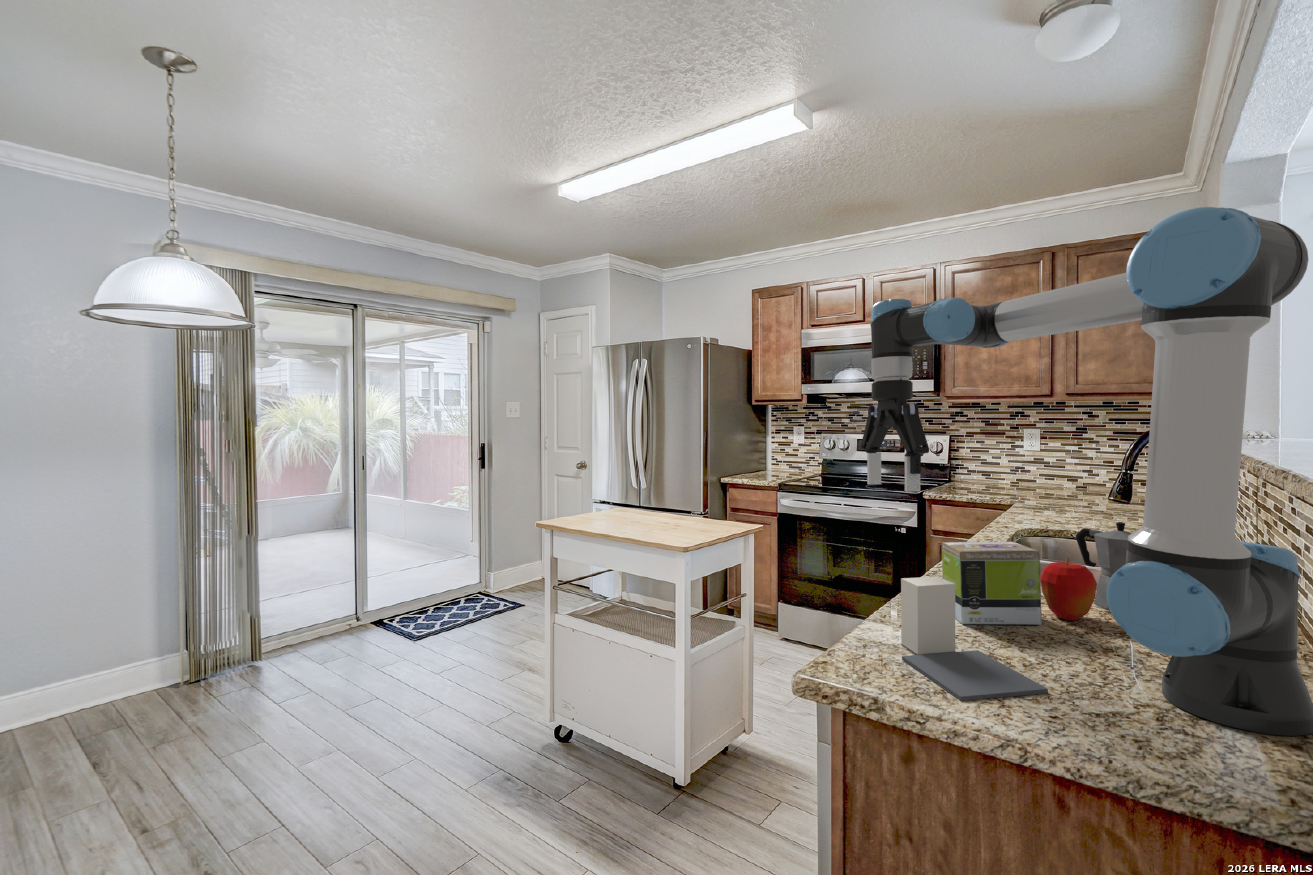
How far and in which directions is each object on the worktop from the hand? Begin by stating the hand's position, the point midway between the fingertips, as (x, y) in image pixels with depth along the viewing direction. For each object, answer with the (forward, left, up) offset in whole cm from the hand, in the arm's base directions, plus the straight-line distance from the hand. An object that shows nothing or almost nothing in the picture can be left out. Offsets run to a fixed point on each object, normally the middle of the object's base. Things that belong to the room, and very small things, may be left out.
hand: (892, 487), depth 117 cm
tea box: (-1, -20, -27) cm, 34 cm away
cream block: (-14, +2, -27) cm, 30 cm away
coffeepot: (+1, -51, -27) cm, 58 cm away
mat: (-25, +2, -27) cm, 37 cm away
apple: (-4, -35, -27) cm, 45 cm away
